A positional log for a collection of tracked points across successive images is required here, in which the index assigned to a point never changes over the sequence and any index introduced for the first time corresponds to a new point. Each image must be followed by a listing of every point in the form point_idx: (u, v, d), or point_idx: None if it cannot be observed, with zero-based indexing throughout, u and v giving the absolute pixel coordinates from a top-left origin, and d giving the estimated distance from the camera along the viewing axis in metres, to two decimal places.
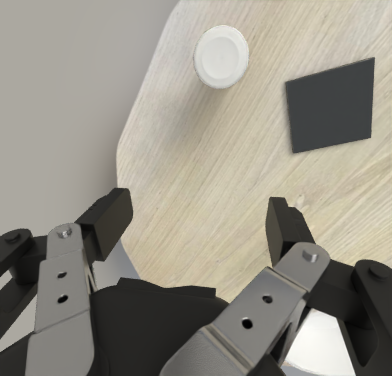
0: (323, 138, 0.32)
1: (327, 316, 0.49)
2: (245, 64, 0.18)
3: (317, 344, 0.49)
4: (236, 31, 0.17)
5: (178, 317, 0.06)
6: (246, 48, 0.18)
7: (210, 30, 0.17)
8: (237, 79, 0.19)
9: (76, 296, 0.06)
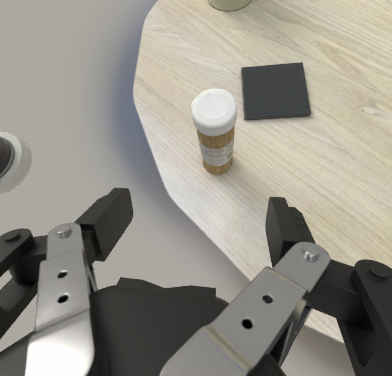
0: (298, 92, 0.36)
1: None
2: (223, 90, 0.22)
3: None
4: (199, 94, 0.23)
5: (178, 317, 0.06)
6: None
7: (192, 110, 0.22)
8: (232, 96, 0.22)
9: (76, 296, 0.06)
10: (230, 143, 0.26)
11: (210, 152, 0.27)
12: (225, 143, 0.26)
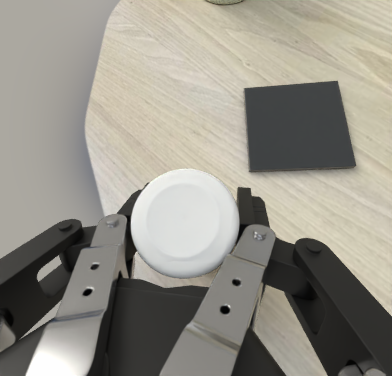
0: (333, 129, 0.23)
1: None
2: (205, 175, 0.10)
3: None
4: (151, 183, 0.10)
5: (178, 317, 0.06)
6: (181, 170, 0.10)
7: (132, 227, 0.09)
8: (228, 193, 0.09)
9: (99, 293, 0.06)
10: None
11: None
12: None
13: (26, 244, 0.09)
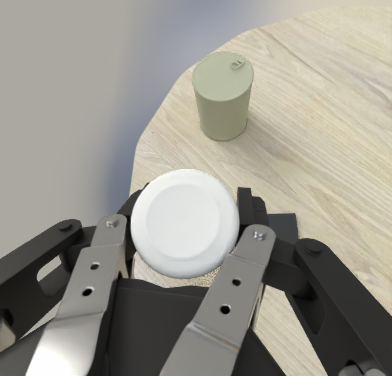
0: None
1: None
2: (205, 175, 0.10)
3: None
4: (151, 183, 0.10)
5: (178, 317, 0.06)
6: (181, 170, 0.10)
7: (132, 227, 0.09)
8: (228, 194, 0.09)
9: (99, 293, 0.06)
10: None
11: None
12: None
13: (26, 244, 0.09)
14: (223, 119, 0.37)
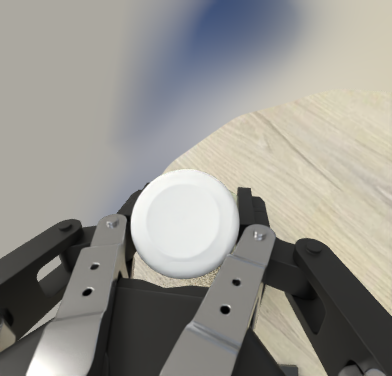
0: None
1: None
2: (205, 175, 0.10)
3: None
4: (151, 183, 0.10)
5: (178, 317, 0.06)
6: (181, 170, 0.10)
7: (132, 227, 0.09)
8: (228, 194, 0.09)
9: (98, 293, 0.06)
10: None
11: None
12: None
13: (26, 244, 0.09)
14: None
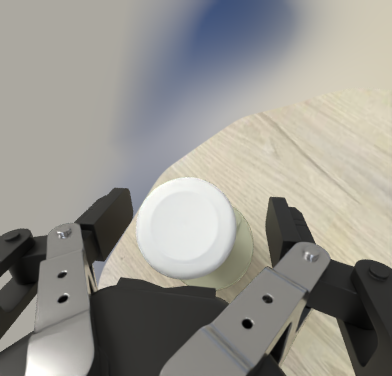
0: None
1: None
2: (205, 183, 0.10)
3: None
4: (154, 190, 0.11)
5: (178, 317, 0.06)
6: (182, 179, 0.10)
7: (137, 232, 0.10)
8: (226, 200, 0.10)
9: (76, 296, 0.06)
10: None
11: None
12: None
13: None
14: None
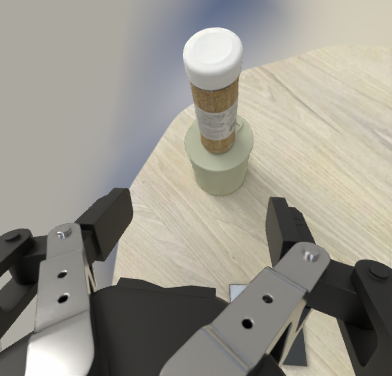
0: None
1: None
2: None
3: None
4: (193, 35, 0.18)
5: (178, 317, 0.06)
6: (210, 28, 0.18)
7: (184, 55, 0.17)
8: (236, 36, 0.17)
9: (76, 296, 0.06)
10: (233, 106, 0.21)
11: (208, 118, 0.22)
12: (227, 105, 0.20)
13: None
14: (219, 181, 0.33)
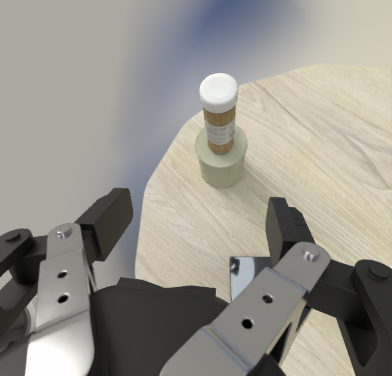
0: None
1: None
2: (226, 74, 0.27)
3: None
4: (206, 78, 0.27)
5: (178, 317, 0.06)
6: (217, 73, 0.27)
7: (200, 91, 0.27)
8: (234, 79, 0.27)
9: (76, 296, 0.06)
10: (232, 122, 0.31)
11: (215, 130, 0.31)
12: (228, 121, 0.30)
13: None
14: (221, 176, 0.43)
